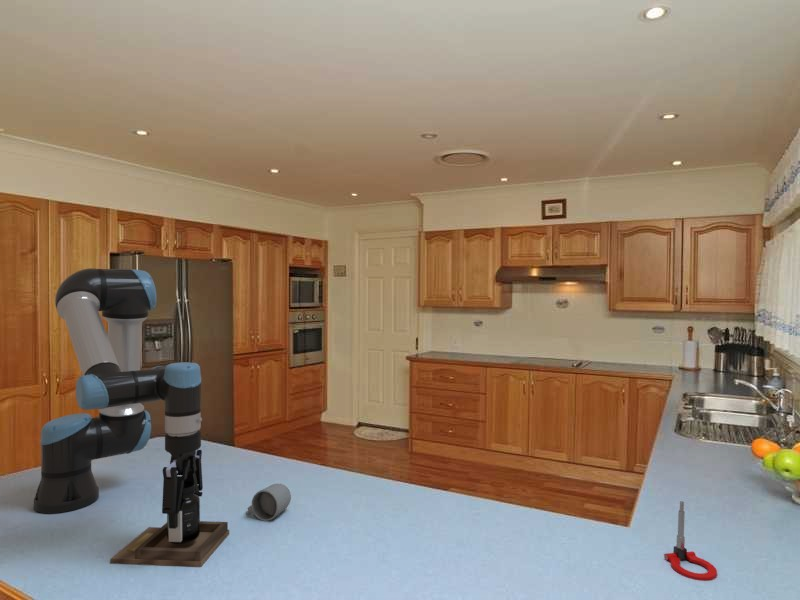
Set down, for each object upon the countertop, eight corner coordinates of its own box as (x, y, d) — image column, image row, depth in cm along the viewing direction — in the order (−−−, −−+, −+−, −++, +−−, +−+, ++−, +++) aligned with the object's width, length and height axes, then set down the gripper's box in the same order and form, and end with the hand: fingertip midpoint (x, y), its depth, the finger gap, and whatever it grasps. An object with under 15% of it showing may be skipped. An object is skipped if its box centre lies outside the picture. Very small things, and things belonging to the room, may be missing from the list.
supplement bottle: (168, 547, 114) (167, 492, 114) (166, 534, 120) (165, 482, 120) (201, 540, 117) (201, 487, 117) (198, 528, 123) (197, 477, 123)
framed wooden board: (110, 563, 112) (110, 549, 112) (149, 531, 127) (148, 518, 127) (201, 566, 110) (201, 552, 110) (229, 534, 125) (229, 521, 125)
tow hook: (726, 581, 106) (695, 556, 115) (729, 519, 105) (697, 499, 114) (688, 584, 105) (659, 559, 114) (690, 522, 104) (661, 501, 113)
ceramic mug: (293, 509, 139) (292, 481, 139) (277, 522, 131) (276, 492, 131) (258, 506, 142) (257, 477, 142) (240, 518, 134) (240, 488, 134)
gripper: (177, 445, 108) (178, 555, 108) (217, 421, 127) (218, 514, 128) (142, 444, 108) (143, 554, 109) (187, 420, 128) (188, 513, 128)
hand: (183, 532), depth 118 cm, fingers closed on supplement bottle, 7 cm apart
